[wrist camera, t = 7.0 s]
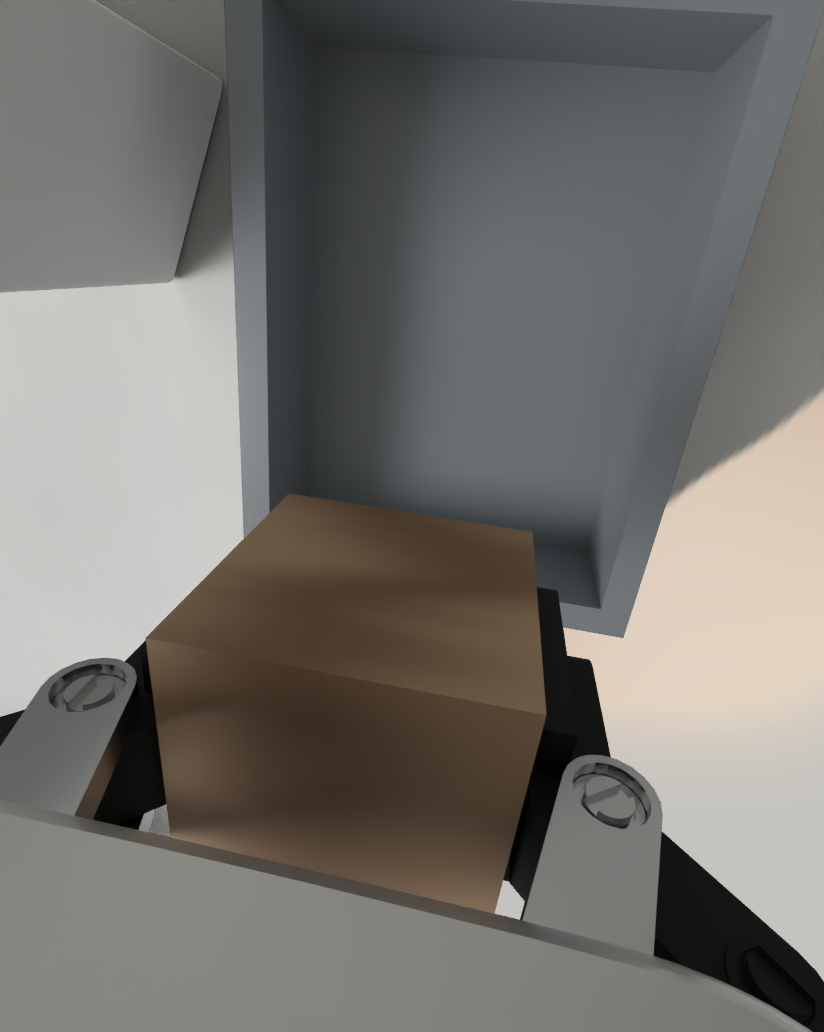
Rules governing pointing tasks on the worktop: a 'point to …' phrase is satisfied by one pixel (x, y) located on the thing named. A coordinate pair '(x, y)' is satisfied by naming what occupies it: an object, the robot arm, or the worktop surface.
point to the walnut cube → (357, 698)
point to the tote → (496, 255)
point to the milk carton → (95, 147)
